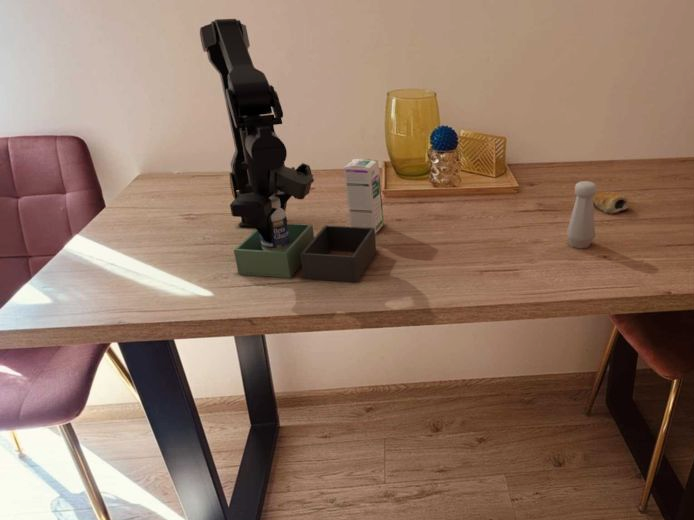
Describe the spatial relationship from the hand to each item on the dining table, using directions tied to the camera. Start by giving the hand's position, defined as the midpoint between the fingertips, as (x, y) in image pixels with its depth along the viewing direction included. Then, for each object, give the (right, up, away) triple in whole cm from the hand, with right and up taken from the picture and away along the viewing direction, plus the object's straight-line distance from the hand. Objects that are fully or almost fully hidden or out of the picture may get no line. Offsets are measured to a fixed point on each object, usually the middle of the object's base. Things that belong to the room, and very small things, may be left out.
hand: (274, 235), depth 123 cm
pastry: (+71, +11, +28) cm, 77 cm away
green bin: (0, -4, +3) cm, 5 cm away
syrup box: (+15, +4, +17) cm, 23 cm away
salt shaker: (+61, 0, +10) cm, 61 cm away
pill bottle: (0, -2, +2) cm, 3 cm away
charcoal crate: (+13, -5, +1) cm, 14 cm away
